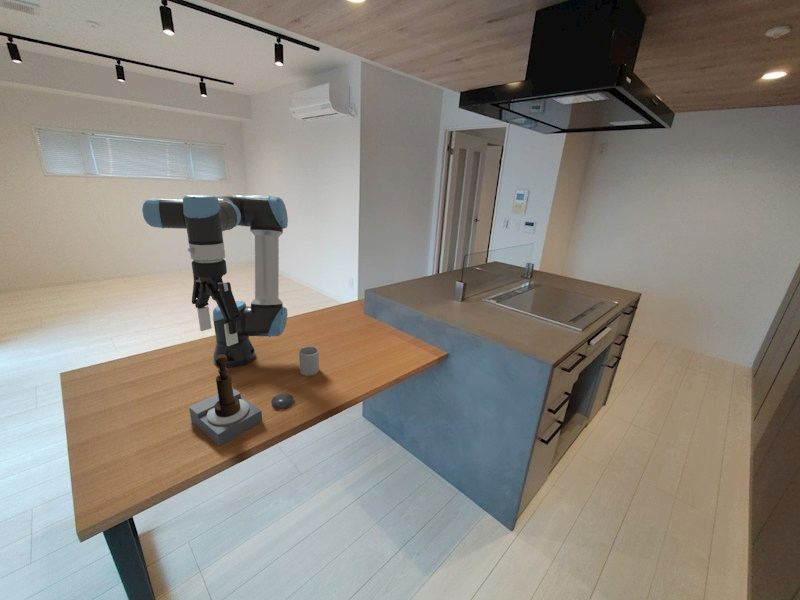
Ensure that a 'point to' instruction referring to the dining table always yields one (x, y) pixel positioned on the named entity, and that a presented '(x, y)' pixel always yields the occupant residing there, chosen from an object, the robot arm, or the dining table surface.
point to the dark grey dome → (282, 401)
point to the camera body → (224, 419)
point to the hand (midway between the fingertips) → (218, 336)
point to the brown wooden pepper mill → (225, 390)
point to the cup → (309, 360)
